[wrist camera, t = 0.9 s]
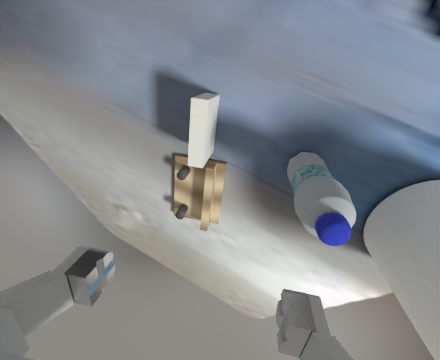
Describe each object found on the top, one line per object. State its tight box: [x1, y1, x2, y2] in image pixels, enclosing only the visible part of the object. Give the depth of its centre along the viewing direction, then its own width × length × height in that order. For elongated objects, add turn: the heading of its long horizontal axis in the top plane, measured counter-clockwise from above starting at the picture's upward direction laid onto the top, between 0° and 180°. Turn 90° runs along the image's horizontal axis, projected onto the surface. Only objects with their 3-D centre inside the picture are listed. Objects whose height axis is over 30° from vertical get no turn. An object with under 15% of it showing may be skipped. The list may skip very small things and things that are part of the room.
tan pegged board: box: [174, 154, 227, 231], centre depth 44 cm, size 14×10×4 cm
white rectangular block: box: [188, 93, 220, 168], centre depth 36 cm, size 10×2×9 cm, turn 173°
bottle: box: [287, 152, 356, 246], centre depth 31 cm, size 7×7×20 cm
